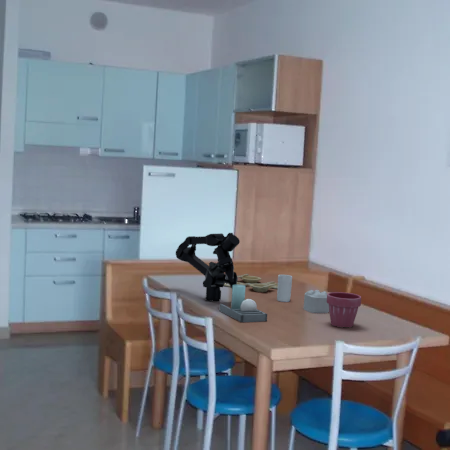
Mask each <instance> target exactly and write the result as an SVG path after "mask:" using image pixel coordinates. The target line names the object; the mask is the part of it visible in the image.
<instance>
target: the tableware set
mask: <svg viewBox="0 0 450 450" xmlns="http://www.w3.org/2000/svg"><path fill="white" fill-rule="evenodd" d="M237 277H238V279H241V280H242V281H243V282H238V281H237V284H239V285H245V286H249V287H251V288H252V289H253V291H254V292H257V293H266V292H268V290H269V289H275V290H277V289H278V282H276V281H268V282H262V283H258V282H259V281H261V280H262V277H260V276H254V275H250V274H249V273H245V274H241V275H237ZM224 287H228V288H231V286H230V285H227V284H224Z"/></svg>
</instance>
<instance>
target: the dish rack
mask: <svg viewBox="0 0 450 450" xmlns="http://www.w3.org/2000/svg"><path fill="white" fill-rule="evenodd" d="M219 312H221V313H222V314H225V316H228V317H230V318H232V319H234V320H236V321H237V322H240V323H257V322H267V321H268V313H266V312H263V311H262V310H260V309H258V308H256V310H248V311H241V309H231V307H230V306H229V307H228V306H227V305H225V304H223V303H219Z"/></svg>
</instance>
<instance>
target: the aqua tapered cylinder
mask: <svg viewBox="0 0 450 450" xmlns="http://www.w3.org/2000/svg"><path fill="white" fill-rule="evenodd" d="M246 286H247V285H239V284H235V285H233V287H232V288H231V290H232V291H231V302H230V303H231V304H230V308H231V309H240V306H241V303H242V302H243V301H244V300H246V299H245V298H246Z"/></svg>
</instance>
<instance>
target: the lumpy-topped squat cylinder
mask: <svg viewBox="0 0 450 450" xmlns="http://www.w3.org/2000/svg"><path fill="white" fill-rule="evenodd" d="M327 294H328V293H327V291H322V292H320V290H319V289H315V290H313V289H310V290H308V291H306V292H305V293H304V295H303V296H304V299H303V300H304V301H303V310H304V311H306V312H308V313H312V314H329V313H328V312H329V304H328V303H327Z"/></svg>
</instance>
